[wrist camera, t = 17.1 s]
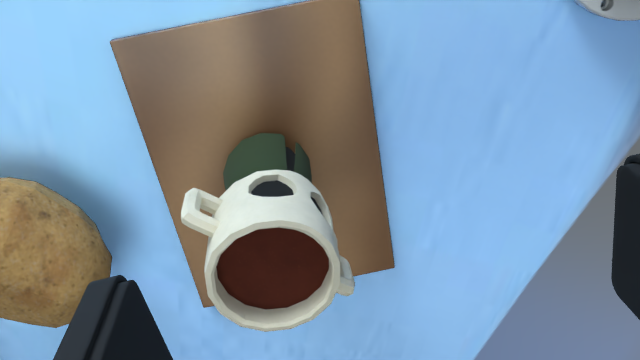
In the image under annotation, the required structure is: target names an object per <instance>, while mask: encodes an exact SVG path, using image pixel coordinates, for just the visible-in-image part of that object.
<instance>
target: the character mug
mask: <svg viewBox="0 0 640 360" xmlns="http://www.w3.org/2000/svg"><path fill="white" fill-rule="evenodd" d="M223 177H224V186H225V190H226V191H225V192H224V193H223V194H222V195H221V196H220V197H219V198H217V197H215V196H213V195H211V194H209V193H206V192H204V191H202V190H200V189H196V188H192V189H191V190H189V191H188V192H187V193H185V197H184V202H183V206H182V210H181V220H182V223H183V224H185V225H186V226H188V227H189V228H191V229H194V230H196V231H198V232H200V233H203V234H205V235H207V236H209V237H208V244H207V252H206V259H205V267H204V272H205V280H206V287H207V294H208V297H209V298H210V300H211V301H212V302H213V304H214V305H215V307H216V308H217V310H218V311H219V312H220V314H221V315H223V316H225V317H226V318H228V319H229V320H231V321H233V322H234V323H236V324H237V325H239V326H241V327H245V328H250V329H255V330H260V331H265V332H267V331H276V330H286V329H292V328H294V327H297V326H299V325H301V324H304V323H306V322H308V321H311V320H313V319H314V318H316V317H317V316H318V315H319V314H320V313H321V312H322V311H323V310H324V309H326V308H327V307H328V306H329V305H330V304H331V302H332V300H333V298H334V296H335V294H336V293H338V294H341V295H344V296H349V295H352V294H353V291H354V286H355V282H354V279H353V275H352V271H351V268H350V264H349V262H348V261H347V259H345V258H344V257H342V256H340V255H339V251H338V246H337V238H336V235H335V233H334V230H333V222H332V217H331V214H330V211H329V208H328V206H327V204H326V202H325V200H324V198H323V197H322V195H321V193H320V192H319V191H318V189H317V188H316V187H315V186H314V185H313V184H312V175H311V167H310V160H309V157H308V156H307V154H306V153H305V151H304V150H303V148H302V147H301V145H300V144H298V143H296V142H295V153H294V152H293V151H292V150H291V149H290V148H289V147H285V136H283V135H282V134H274V133H260V134H257V135H254V136H252V137H249V138H246V139H244V140H242V141H241V142H240V143H239V144H238V145H237V146H236V147H235V149H234V150H233V151H232V152H231V153H230V154H229V155H228V158H227V161H226V165H225V168H224V171H223ZM200 208H201V209H203V210H205V211H207V212H209V213H211V214H212V217H210V216H208V215H205V214H203V213H201V212H200Z"/></svg>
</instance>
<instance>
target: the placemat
mask: <svg viewBox="0 0 640 360" xmlns="http://www.w3.org/2000/svg"><path fill="white" fill-rule="evenodd" d="M110 44H111V47H112V50H113V52H114V55H115V58H116V61H117V64H118V67H119V69H120V72H121V75H122V78H123V81H124V84H125V86H126V89H127V92H128V95H129V98H130V101H131V103H132V106H133V109H134V112H135V115H136V118H137V120H138V123H139V126H140V129H141V132H142V135H143V137H144V140H145V143H146V146H147V149H148V152H149V154H150V157H151V160H152V163H153V166H154V168H155V171H156V174H157V177H158V180H159V183H160V185H161V188H162V191H163V194H164V197H165V200H166V202H167V205H168V208H169V211H170V214H171V217H172V219H173V222H174V225H175V228H176V231H177V234H178V236H179V239H180V242H181V245H182V248H183V251H184V253H185V256H186V259H187V262H188V265H189V268H190V270H191V273H192V276H193V279H194V282H195V284H196V287H197V290H198V293H199V296H200V299H201V301H202V304H203V307H204V308H205V307H210V306H215V305H214V304H213V302H212V301H211V300H210V298H209V297H208V294H207V287H206V280H205V272H204V267H205V259H206V252H207V244H208V237H209V236H207V235H205V234H203V233H200V232H198V231H196V230H194V229H191V228H189V227H188V226H186V225H185V224H183V223H182V220H181V210H182V206H183V202H184V197H185V193H187V192H188V191H189V190H191V189H192V188H196V189H200V190H202V191H204V192H206V193H209V194H211V195H213V196H215V197H217V198H219V197H220V196H221V195H222V194H223V193H224V192H225V191H226V190H225V186H224V177H223V171H224V168H225V165H226V161H227V158H228V155H229V154H230V153H231V152H232V151H233V150H234V149H235V147H236V146H237V145H238V144H239V143H240V142H241V141H242V140H244V139H246V138H249V137H252V136H254V135H257V134H260V133H274V134H282V135H283V136H285V147H289V148H290V149H291V150H292V151H293V152H294V153H295V142H296V143H298V144H300V145H301V147H302V148H303V150H304V151H305V153H306V154H307V156H308V157H309V160H310V167H311V175H312V184H313V185H314V186H315V187H316V188H317V189H318V191H319V192H320V193H321V195H322V197H323V198H324V200H325V202H326V204H327V206H328V208H329V211H330V214H331V217H332V222H333V230H334V233H335V235H336V238H337V246H338V251H339V255H340V256H342V257H344V258H345V259H347V261H348V262H349V264H350V268H351V271H352V275H353V276H358V275H362V274H367V273H372V272H377V271H381V270H386V269H391V268H394V267H395V266H394V258H393V251H392V243H391V236H390V228H389V221H388V213H387V206H386V198H385V191H384V183H383V176H382V168H381V161H380V153H379V146H378V138H377V131H376V123H375V116H374V108H373V101H372V93H371V86H370V78H369V71H368V63H367V56H366V48H365V41H364V33H363V26H362V18H361V11H360V3H359V0H309V1H304V2H299V3H294V4H289V5H284V6H279V7H274V8H269V9H264V10H259V11H254V12H249V13H244V14H239V15H234V16H229V17H224V18H219V19H214V20H209V21H204V22H199V23H194V24H189V25H184V26H179V27H174V28H169V29H164V30H159V31H154V32H148V33H143V34H138V35H133V36H128V37H123V38H118V39H113V40H111V41H110ZM200 212H201V213H203V214H205V215H208V216H210V217H212V214H211V213H209V212H207V211H205V210H203V209H201V208H200Z"/></svg>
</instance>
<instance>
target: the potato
mask: <svg viewBox="0 0 640 360" xmlns="http://www.w3.org/2000/svg"><path fill="white" fill-rule="evenodd" d="M111 261H112V256H111V254H110V252H109V251H108V249H107V247H106V245H105V244H104V242H103V240H102V238H101V236H100V233H99V231H98V229H97V226H96V224H95V223H94V222H93V221H92V220H91V219H90V218H89V217H88V216H87V215H86V214H85V213H84V212H83V210H82V209H81V208H80V207H78V206H77V205H75V204H74V203H72V202H71V201H69V200H67V199H66V198H64V197H63V196H61V195H60V194H58V193H56V192H54V191H53V190H51V189H49V188H47V187H45V186H43V185H41V184H39V183H38V182H35V181H29V180H23V179H16V178H10V177H8V178H0V318H4V319H8V320H13V321H18V322H22V323H27V324H32V325H39V326H46V327H53V328H57V327H60V326H63V325H66V324H70V322H71V320H72V318H73V316H74V313H75V311H76V309H77V307H78V305H79V303H80V301H81V298H82V296H83V294H84V292H85V290H86V288H87V286H88V284H89V283H90V282H92V281H96V280H100V279H105V278H109V277H110V271H111Z"/></svg>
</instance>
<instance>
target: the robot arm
mask: <svg viewBox="0 0 640 360" xmlns="http://www.w3.org/2000/svg"><path fill="white" fill-rule="evenodd" d="M574 1H575V2H576V3H577V4H578V5H580V6H581V7H583V8H584V9H586V10H587V11H589V12H591V13H594V14H596V15H599V16H602V17H605V18H610V19H614V20H619V21H636V20H640V0H574ZM602 1H603V2H602ZM601 3H602V4H601ZM612 284H613V286H614V289H615V291H616V293H617V295H618V296H619V297H620V299H621V300H622V301H623V302H624V303H625V304H626V305H627V306H628V308H629V309H630V310H631V311H632V312H633V313H634V314H635V315H636V316H637V317H638V319H639V320H640V154H636V155H632V156H629V157H628V158H627V159H626V161H625V163H624V166H620V167H619V168H618V170H617V179H616V198H615V218H614V238H613V258H612ZM53 360H173V358H172V356H171V354H170V352H169V350H168V348H167V346H166V344H165V342H164V340H163V337H162V335H161V333H160V331H159V329H158V327H157V325H156V323H155V321H154V318H153V316H152V314H151V312H150V310H149V308H148V306H147V304H146V302H145V300H144V297H143V295H142V293H141V291H140V289H139V287H138V285H137V283H136V282H135V281H134V280H129V281H127V280H126V278H124V277H123V276H121V275H118V276H113V277H109V278H105V279H100V280H96V281H92V282H90V283H89V284H88V286H87V288H86V290H85V292H84V294H83V296H82V298H81V301H80V303H79V305H78V307H77V309H76V311H75V313H74V316H73V318H72V320H71V322H70V324H69V326H68V329H67V331H66V333H65V335H64V337H63V339H62V341H61V344H60V346H59V348H58V350H57V352H56V354H55V357H54V359H53Z"/></svg>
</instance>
